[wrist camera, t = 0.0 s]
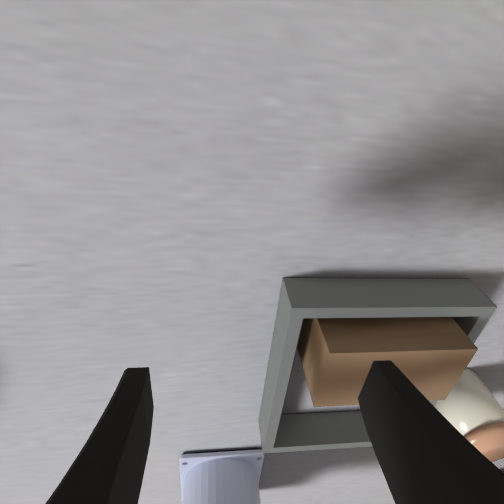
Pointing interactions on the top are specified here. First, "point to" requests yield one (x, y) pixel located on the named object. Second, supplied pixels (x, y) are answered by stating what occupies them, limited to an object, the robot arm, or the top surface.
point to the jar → (475, 414)
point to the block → (381, 354)
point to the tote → (350, 306)
